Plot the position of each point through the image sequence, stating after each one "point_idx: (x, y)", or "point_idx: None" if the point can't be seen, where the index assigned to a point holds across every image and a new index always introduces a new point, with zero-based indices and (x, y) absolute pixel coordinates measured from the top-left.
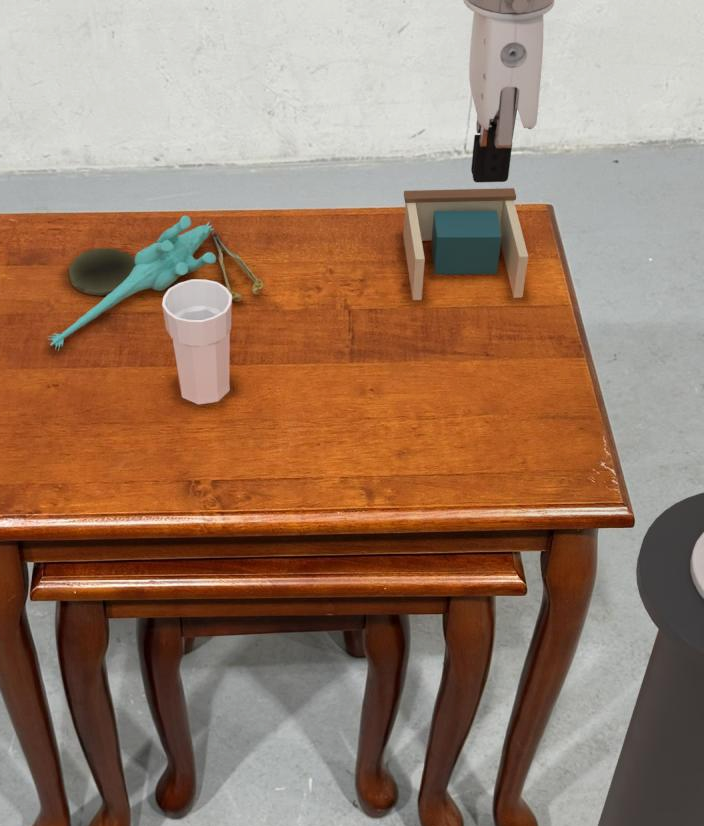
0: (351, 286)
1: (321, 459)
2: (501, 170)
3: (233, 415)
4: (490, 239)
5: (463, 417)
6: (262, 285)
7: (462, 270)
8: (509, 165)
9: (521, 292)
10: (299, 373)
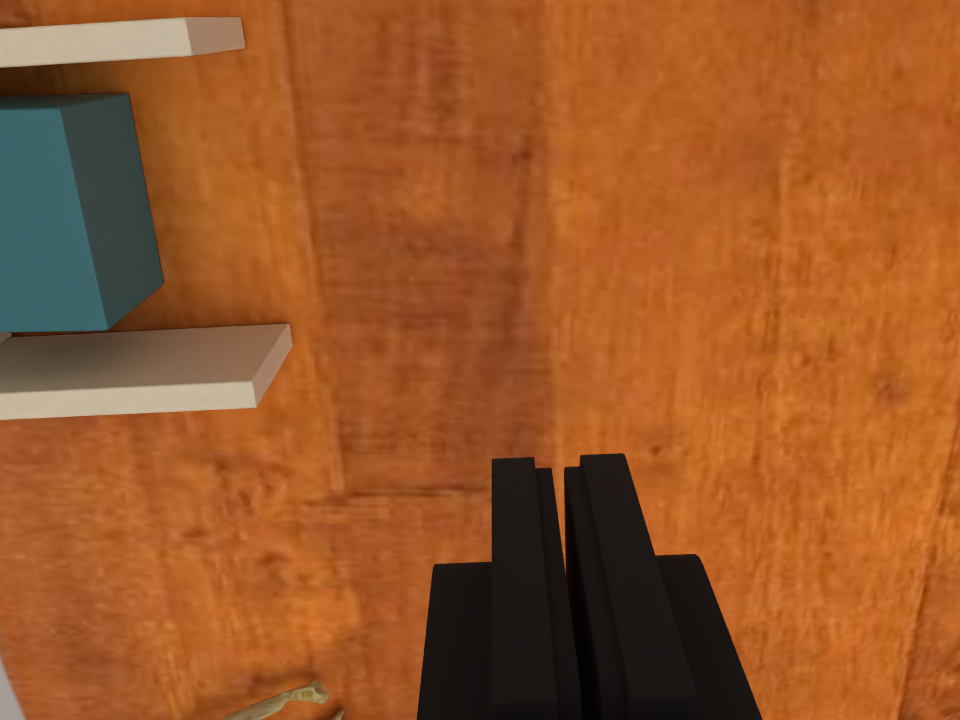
0: (250, 489)
1: (876, 549)
2: (709, 582)
3: None
4: (74, 147)
5: (781, 238)
6: (306, 688)
7: (143, 206)
8: (641, 521)
9: (236, 23)
10: None
